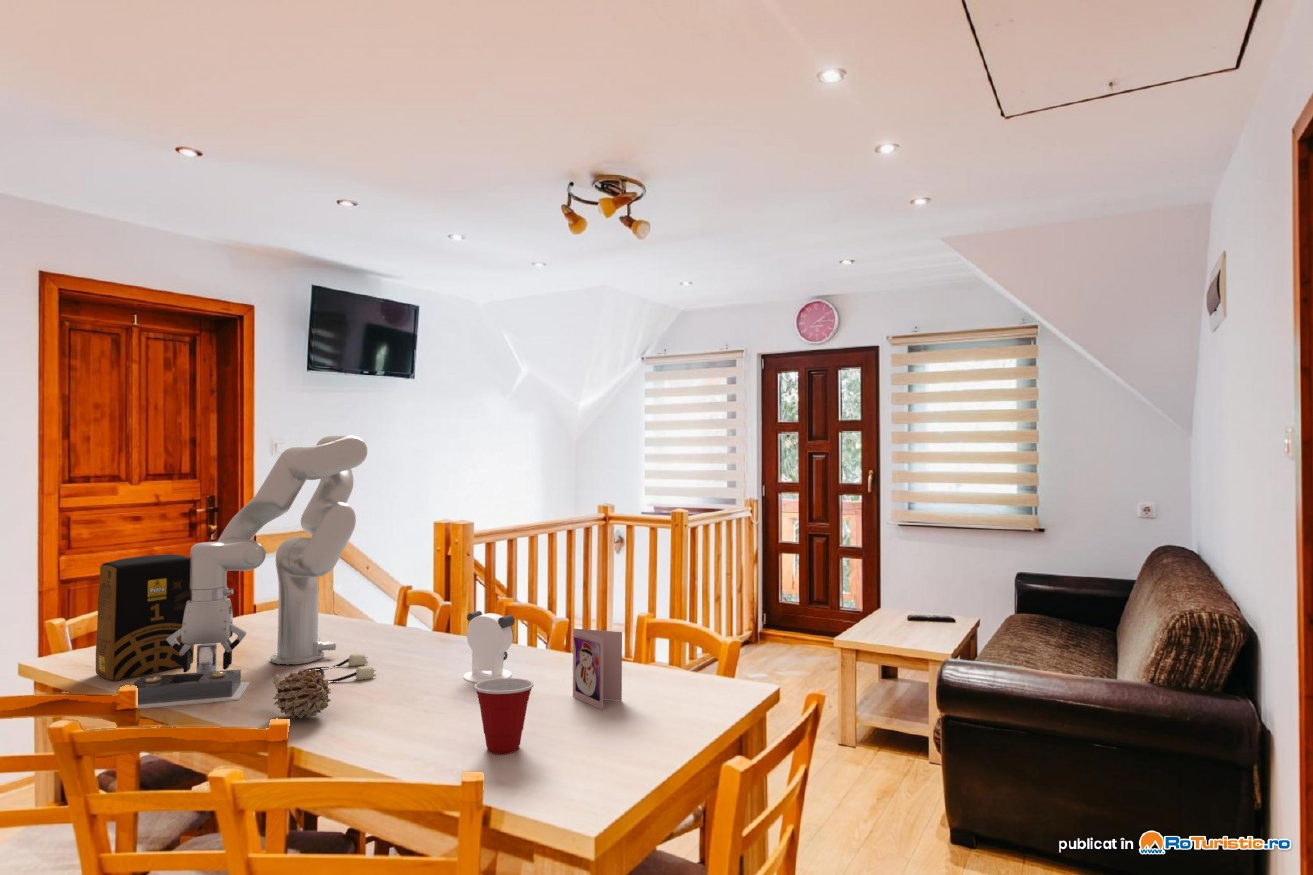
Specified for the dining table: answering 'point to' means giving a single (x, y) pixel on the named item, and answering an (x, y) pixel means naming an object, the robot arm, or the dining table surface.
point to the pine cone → (302, 693)
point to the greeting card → (597, 666)
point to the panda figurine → (489, 645)
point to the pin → (206, 657)
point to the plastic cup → (503, 712)
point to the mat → (235, 696)
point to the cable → (353, 660)
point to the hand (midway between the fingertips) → (206, 668)
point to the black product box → (140, 614)
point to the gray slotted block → (187, 686)
